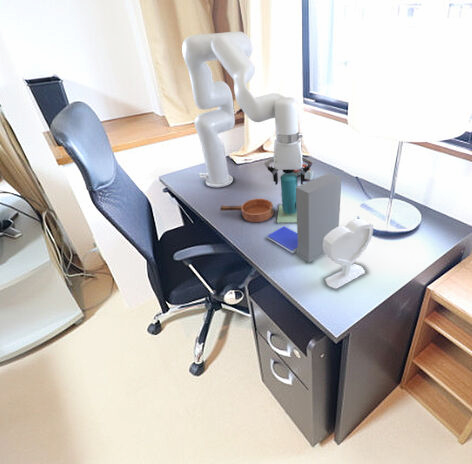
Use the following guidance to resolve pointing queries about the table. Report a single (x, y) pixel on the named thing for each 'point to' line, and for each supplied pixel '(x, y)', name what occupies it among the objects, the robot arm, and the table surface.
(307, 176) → the tape dispenser
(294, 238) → the hard drive
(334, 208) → the tall grey upright box
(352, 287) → the table surface
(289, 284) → the table surface
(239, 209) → the pan handle
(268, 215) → the pan
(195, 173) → the table surface
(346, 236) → the heart sculpture
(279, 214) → the cloth
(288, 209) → the beverage bottle
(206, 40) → the robot arm
